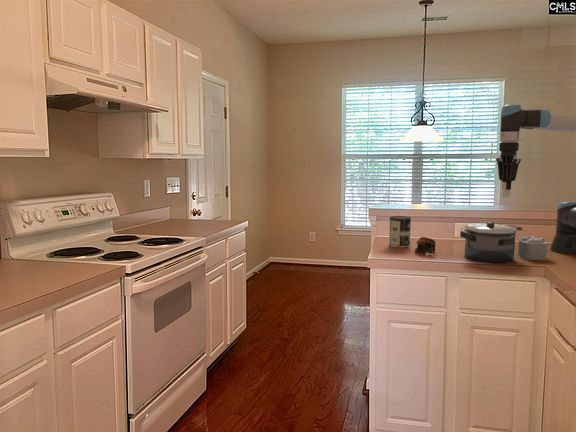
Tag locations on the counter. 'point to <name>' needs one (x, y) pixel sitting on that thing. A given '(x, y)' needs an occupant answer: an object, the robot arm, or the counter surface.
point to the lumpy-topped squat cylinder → (532, 248)
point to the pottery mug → (425, 245)
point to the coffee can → (399, 231)
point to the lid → (492, 228)
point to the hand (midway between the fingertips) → (506, 197)
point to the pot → (489, 247)
